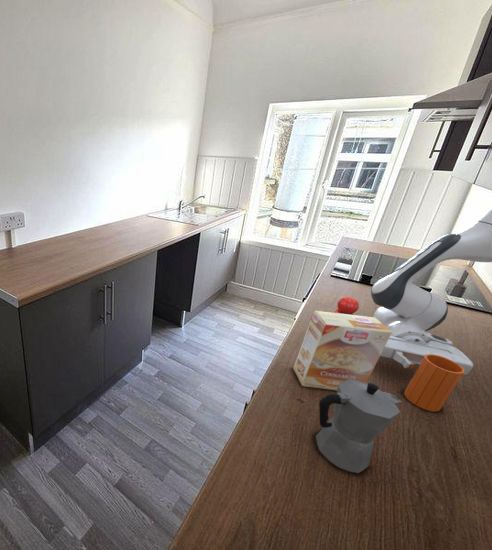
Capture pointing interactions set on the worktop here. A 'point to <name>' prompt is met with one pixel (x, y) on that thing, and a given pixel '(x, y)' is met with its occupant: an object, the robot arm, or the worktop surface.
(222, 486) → the worktop surface
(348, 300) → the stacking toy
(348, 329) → the coffeecake box
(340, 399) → the coffeepot
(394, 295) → the robot arm
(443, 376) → the orange staved tumbler
